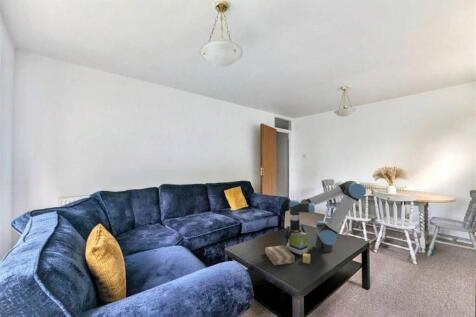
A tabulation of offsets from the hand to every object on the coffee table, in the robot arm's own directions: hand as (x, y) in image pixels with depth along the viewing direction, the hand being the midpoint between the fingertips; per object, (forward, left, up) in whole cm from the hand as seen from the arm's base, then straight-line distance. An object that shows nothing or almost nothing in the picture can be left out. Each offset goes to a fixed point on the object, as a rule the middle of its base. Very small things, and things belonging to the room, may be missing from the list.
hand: (295, 245), depth 169 cm
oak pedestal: (+16, +5, -6) cm, 18 cm away
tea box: (-1, +1, -4) cm, 4 cm away
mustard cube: (-1, +15, -6) cm, 16 cm away
